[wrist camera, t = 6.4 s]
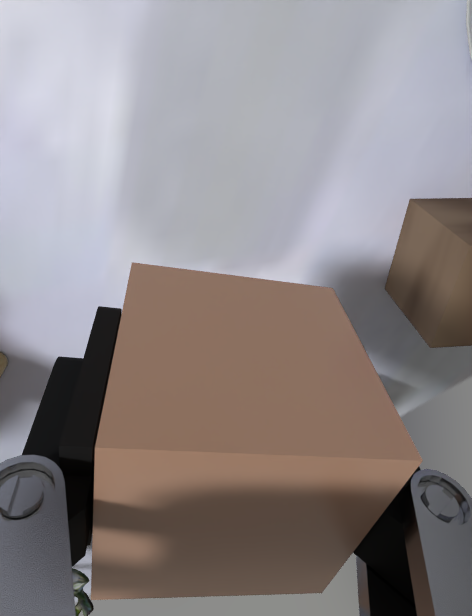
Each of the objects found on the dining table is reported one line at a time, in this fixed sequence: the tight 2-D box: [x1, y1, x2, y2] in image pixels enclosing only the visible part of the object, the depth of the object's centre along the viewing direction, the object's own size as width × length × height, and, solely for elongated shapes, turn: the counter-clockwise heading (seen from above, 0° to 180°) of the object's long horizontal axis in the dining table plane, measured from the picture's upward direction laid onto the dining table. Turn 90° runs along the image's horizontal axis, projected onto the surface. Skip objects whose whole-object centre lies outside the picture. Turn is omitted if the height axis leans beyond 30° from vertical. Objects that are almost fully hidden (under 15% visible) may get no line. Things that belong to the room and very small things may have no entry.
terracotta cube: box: [91, 263, 422, 600], centre depth 10 cm, size 5×5×5 cm
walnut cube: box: [385, 198, 472, 348], centre depth 19 cm, size 5×5×5 cm
